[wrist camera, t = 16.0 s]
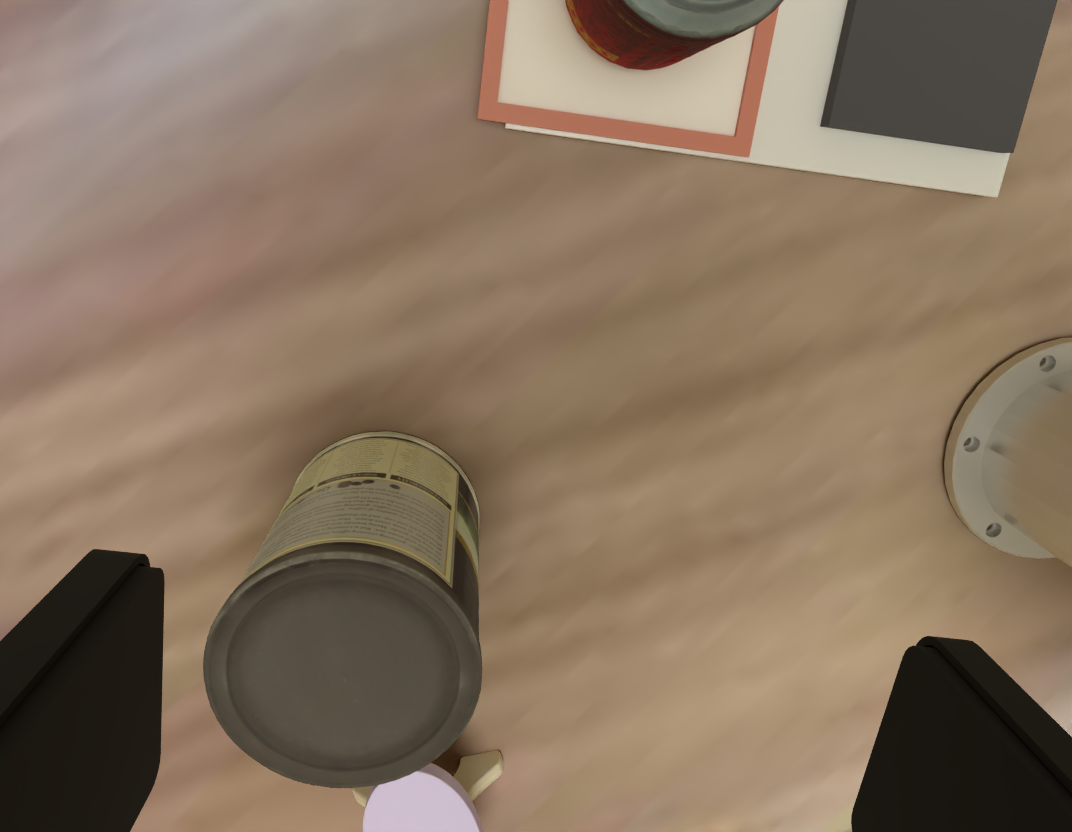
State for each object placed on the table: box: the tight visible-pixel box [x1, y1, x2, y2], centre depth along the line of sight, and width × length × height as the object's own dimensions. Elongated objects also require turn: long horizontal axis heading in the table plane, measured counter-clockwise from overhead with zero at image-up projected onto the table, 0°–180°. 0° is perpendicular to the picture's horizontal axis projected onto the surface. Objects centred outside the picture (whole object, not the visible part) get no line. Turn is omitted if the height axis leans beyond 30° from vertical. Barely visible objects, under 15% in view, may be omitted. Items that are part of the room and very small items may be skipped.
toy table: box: [352, 750, 504, 832], centre depth 46 cm, size 10×9×6 cm
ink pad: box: [820, 0, 1057, 153], centre depth 37 cm, size 9×9×1 cm
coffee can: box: [203, 431, 482, 788], centre depth 37 cm, size 10×10×14 cm
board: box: [505, 0, 1010, 197], centre depth 37 cm, size 24×13×1 cm, turn 82°
